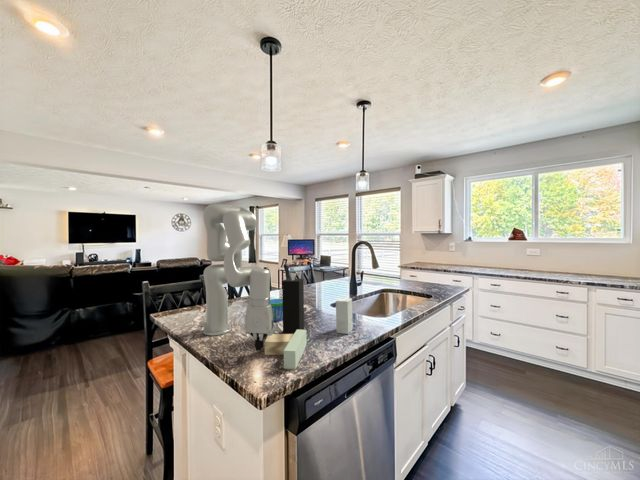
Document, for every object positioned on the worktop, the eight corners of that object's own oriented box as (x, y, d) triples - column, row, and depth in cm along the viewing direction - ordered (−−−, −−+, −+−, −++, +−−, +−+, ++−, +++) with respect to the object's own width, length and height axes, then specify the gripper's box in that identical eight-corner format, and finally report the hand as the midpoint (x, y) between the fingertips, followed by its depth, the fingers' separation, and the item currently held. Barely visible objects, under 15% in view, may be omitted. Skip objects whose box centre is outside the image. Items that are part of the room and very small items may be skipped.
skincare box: (348, 334, 120) (348, 301, 120) (335, 333, 123) (335, 300, 122) (353, 328, 128) (352, 297, 128) (341, 327, 130) (340, 297, 130)
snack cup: (268, 325, 135) (268, 305, 135) (258, 320, 143) (258, 301, 143) (294, 319, 145) (293, 300, 145) (283, 314, 153) (283, 297, 153)
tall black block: (299, 337, 118) (298, 273, 117) (282, 336, 119) (281, 273, 119) (304, 331, 125) (303, 271, 125) (288, 330, 127) (287, 271, 127)
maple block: (264, 355, 100) (264, 341, 100) (268, 346, 108) (268, 334, 108) (291, 354, 100) (291, 341, 100) (293, 346, 108) (293, 333, 108)
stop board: (283, 368, 90) (283, 350, 90) (297, 343, 110) (296, 329, 110) (295, 369, 89) (295, 351, 89) (306, 344, 110) (306, 329, 110)
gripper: (236, 303, 99) (236, 352, 99) (275, 305, 96) (275, 355, 97) (245, 298, 106) (244, 343, 107) (281, 300, 104) (281, 346, 104)
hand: (259, 349), depth 102 cm, fingers closed
